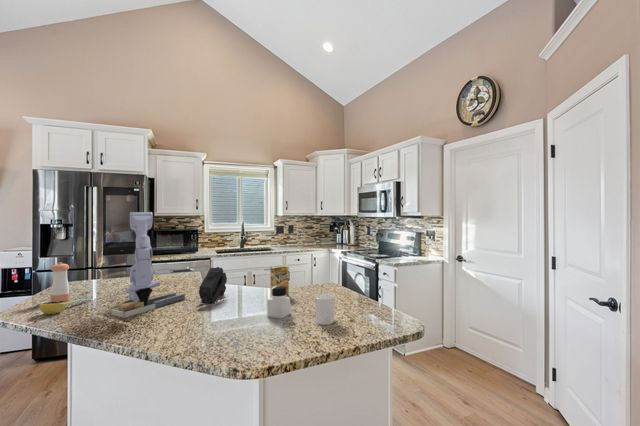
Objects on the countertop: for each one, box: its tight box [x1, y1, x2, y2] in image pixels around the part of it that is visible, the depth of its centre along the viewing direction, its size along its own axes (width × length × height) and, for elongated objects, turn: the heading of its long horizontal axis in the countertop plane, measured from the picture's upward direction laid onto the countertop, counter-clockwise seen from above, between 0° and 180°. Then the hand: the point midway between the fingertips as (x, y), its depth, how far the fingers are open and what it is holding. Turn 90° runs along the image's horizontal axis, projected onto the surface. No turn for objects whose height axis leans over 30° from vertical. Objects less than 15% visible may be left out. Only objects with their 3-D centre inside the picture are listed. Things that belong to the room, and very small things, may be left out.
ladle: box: [39, 298, 93, 316], centre depth 140 cm, size 9×26×6 cm, turn 0°
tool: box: [198, 266, 228, 304], centre depth 150 cm, size 7×21×16 cm, turn 174°
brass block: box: [129, 301, 145, 309], centre depth 132 cm, size 4×4×4 cm
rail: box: [146, 292, 187, 309], centre depth 144 cm, size 10×16×4 cm, turn 154°
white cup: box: [314, 293, 336, 326], centre depth 119 cm, size 8×8×10 cm
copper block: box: [118, 302, 134, 312], centre depth 129 cm, size 4×4×4 cm
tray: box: [110, 304, 156, 319], centre depth 131 cm, size 9×13×3 cm
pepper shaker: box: [50, 262, 71, 303], centre depth 152 cm, size 7×7×19 cm
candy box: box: [269, 265, 290, 298], centre depth 159 cm, size 9×4×15 cm, turn 125°
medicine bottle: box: [266, 286, 291, 320], centre depth 128 cm, size 7×7×12 cm
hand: (143, 305), depth 135 cm, fingers closed
